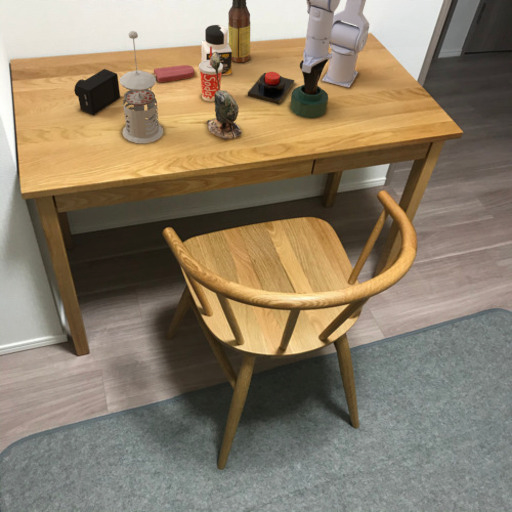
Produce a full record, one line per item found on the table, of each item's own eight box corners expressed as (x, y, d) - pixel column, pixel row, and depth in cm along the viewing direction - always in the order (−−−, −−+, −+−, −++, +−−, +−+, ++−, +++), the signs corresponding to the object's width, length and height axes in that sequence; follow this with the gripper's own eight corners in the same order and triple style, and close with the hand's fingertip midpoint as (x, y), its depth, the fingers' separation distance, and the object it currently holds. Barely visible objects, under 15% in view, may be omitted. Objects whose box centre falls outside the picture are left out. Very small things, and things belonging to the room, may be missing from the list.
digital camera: (104, 91, 149) (100, 66, 144) (120, 97, 147) (117, 73, 142) (76, 108, 142) (71, 83, 137) (93, 115, 141) (88, 90, 136)
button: (267, 76, 154) (268, 70, 153) (281, 79, 153) (282, 73, 152) (262, 82, 151) (262, 76, 150) (276, 86, 150) (276, 80, 149)
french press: (117, 140, 134) (102, 39, 116) (131, 114, 142) (119, 15, 124) (157, 145, 134) (149, 44, 116) (169, 119, 142) (163, 20, 124)
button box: (264, 76, 159) (264, 66, 157) (294, 84, 157) (295, 74, 155) (247, 96, 151) (248, 86, 149) (278, 104, 149) (279, 94, 147)
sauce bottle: (250, 54, 167) (254, -15, 153) (248, 64, 163) (252, -6, 149) (228, 52, 168) (230, -18, 153) (226, 62, 163) (227, -9, 149)
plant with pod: (211, 147, 135) (212, 69, 120) (205, 120, 142) (204, 44, 128) (245, 144, 136) (249, 67, 122) (236, 118, 144) (239, 43, 129)
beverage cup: (194, 98, 149) (193, 48, 139) (206, 88, 153) (206, 38, 142) (214, 105, 147) (215, 55, 137) (226, 95, 151) (227, 45, 141)
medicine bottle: (206, 76, 157) (206, 34, 148) (201, 64, 162) (200, 22, 153) (231, 74, 159) (232, 33, 150) (225, 62, 163) (226, 21, 155)
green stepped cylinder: (297, 95, 153) (299, 77, 149) (330, 104, 151) (333, 85, 147) (285, 112, 147) (287, 93, 143) (319, 122, 145) (322, 103, 141)
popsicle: (138, 70, 154) (191, 63, 158) (138, 75, 155) (191, 68, 160) (142, 80, 151) (196, 72, 155) (143, 85, 152) (196, 77, 156)
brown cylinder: (306, 91, 147) (309, 66, 142) (317, 93, 147) (321, 69, 142) (302, 96, 145) (306, 71, 140) (313, 99, 145) (317, 74, 140)
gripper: (325, 51, 129) (317, 103, 138) (343, 26, 138) (334, 77, 148) (296, 44, 130) (290, 96, 140) (316, 19, 140) (309, 70, 150)
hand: (311, 86), depth 144 cm, fingers closed on brown cylinder, 3 cm apart
